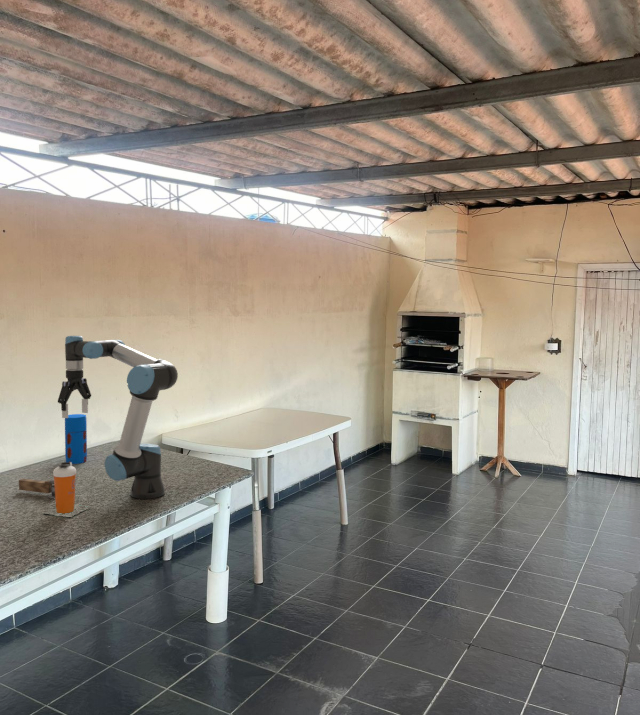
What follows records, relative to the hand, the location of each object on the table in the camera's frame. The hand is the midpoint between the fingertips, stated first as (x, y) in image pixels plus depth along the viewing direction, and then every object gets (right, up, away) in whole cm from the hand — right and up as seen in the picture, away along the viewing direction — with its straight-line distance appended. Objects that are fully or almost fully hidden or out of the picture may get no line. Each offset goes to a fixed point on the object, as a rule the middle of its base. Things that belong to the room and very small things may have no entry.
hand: (75, 415), depth 293 cm
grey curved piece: (-6, -36, -9) cm, 37 cm away
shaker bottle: (+7, -37, -29) cm, 48 cm away
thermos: (-19, -30, +51) cm, 62 cm away
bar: (-13, -34, -7) cm, 37 cm away
